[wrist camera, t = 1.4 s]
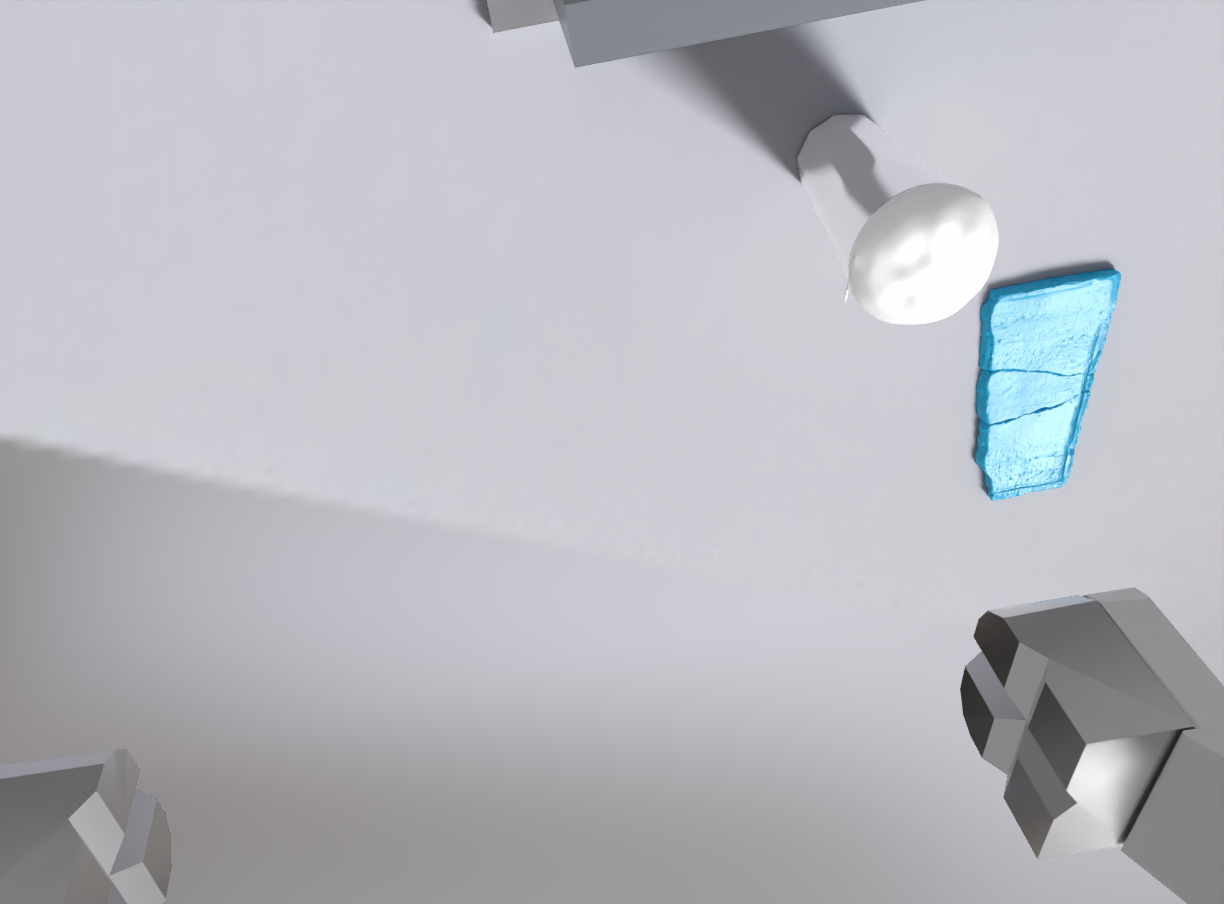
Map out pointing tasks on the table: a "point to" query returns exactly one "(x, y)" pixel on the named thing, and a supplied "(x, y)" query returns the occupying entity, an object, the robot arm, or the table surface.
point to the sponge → (1038, 377)
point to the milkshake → (896, 222)
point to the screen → (684, 22)
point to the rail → (520, 13)
